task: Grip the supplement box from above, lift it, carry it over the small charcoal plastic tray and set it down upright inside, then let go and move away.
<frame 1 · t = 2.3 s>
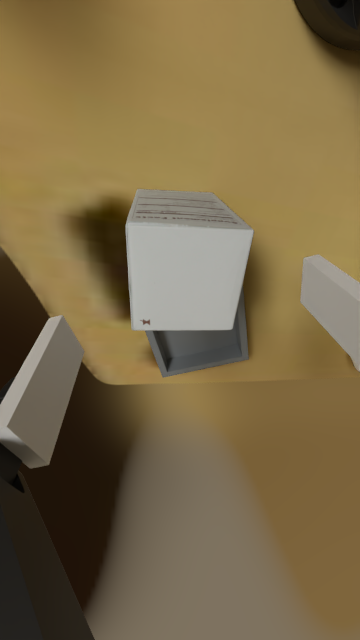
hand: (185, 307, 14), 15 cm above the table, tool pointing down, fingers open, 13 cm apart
supplement box: (173, 227, 26), on the table
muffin: (359, 339, 38), on the table
charcoal tray: (194, 320, 33), on the table
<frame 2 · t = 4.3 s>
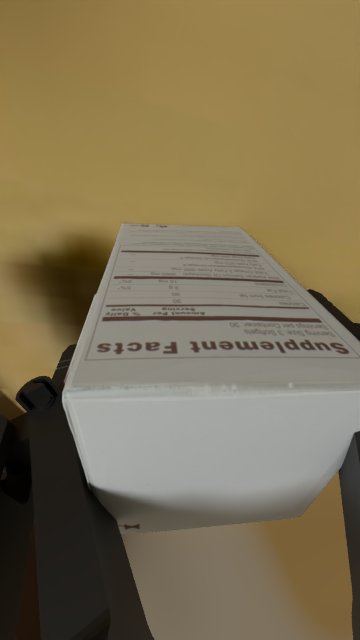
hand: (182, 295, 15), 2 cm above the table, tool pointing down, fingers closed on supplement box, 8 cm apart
supplement box: (179, 276, 17), on the table, touching gripper
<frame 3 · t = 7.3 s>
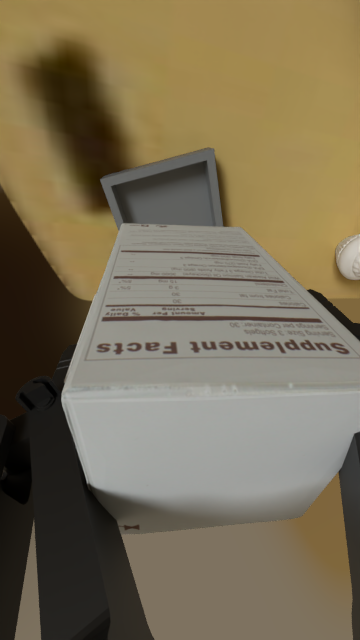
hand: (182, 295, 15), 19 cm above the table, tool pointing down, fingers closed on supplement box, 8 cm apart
supplement box: (179, 276, 17), point 17 cm above the table, touching gripper
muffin: (345, 247, 36), on the table
charcoal tray: (168, 216, 31), on the table
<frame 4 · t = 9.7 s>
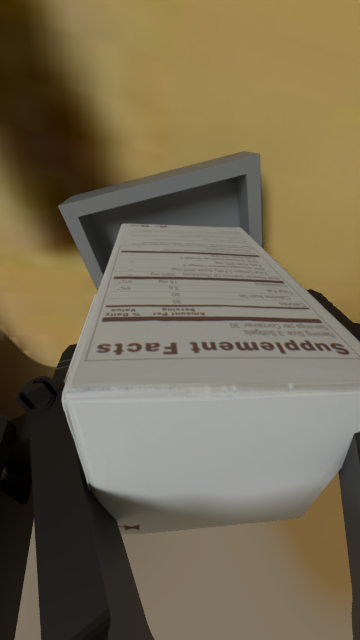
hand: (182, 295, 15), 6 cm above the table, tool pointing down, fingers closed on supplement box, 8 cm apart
supplement box: (179, 276, 17), point 3 cm above the table, touching gripper
charcoal tray: (175, 256, 20), on the table
when the fingers open (5 cm above the table, at t = 10.7 s): supplement box drops 2 cm, resting on charcoal tray.
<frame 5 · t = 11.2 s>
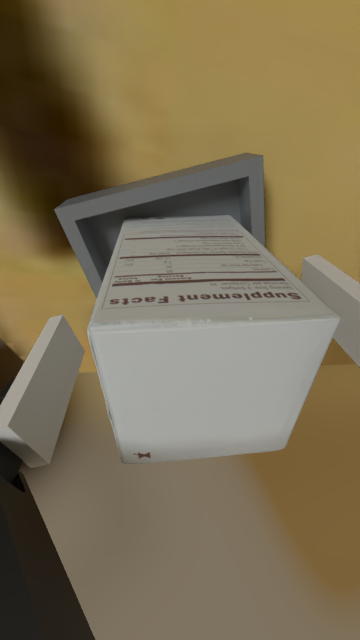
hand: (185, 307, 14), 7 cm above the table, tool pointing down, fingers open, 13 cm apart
supplement box: (178, 263, 19), resting on charcoal tray
charcoal tray: (175, 260, 20), on the table
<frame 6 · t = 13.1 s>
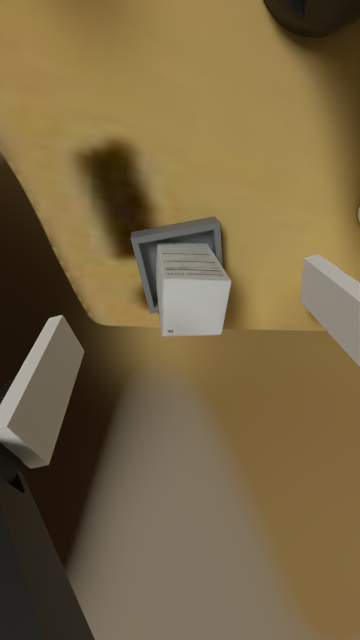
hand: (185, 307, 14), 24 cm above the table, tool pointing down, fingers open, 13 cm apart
supplement box: (180, 265, 38), resting on charcoal tray
charcoal tray: (179, 263, 39), on the table
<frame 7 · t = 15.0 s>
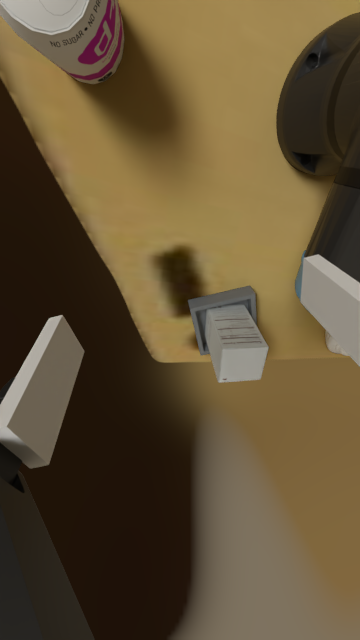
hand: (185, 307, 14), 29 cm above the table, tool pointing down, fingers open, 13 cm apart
supplement box: (223, 319, 50), resting on charcoal tray
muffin: (332, 329, 55), on the table
charcoal tray: (222, 317, 51), on the table
supplement can: (86, 33, 27), on the table
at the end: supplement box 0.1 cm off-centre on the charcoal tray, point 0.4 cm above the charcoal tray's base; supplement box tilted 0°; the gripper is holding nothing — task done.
